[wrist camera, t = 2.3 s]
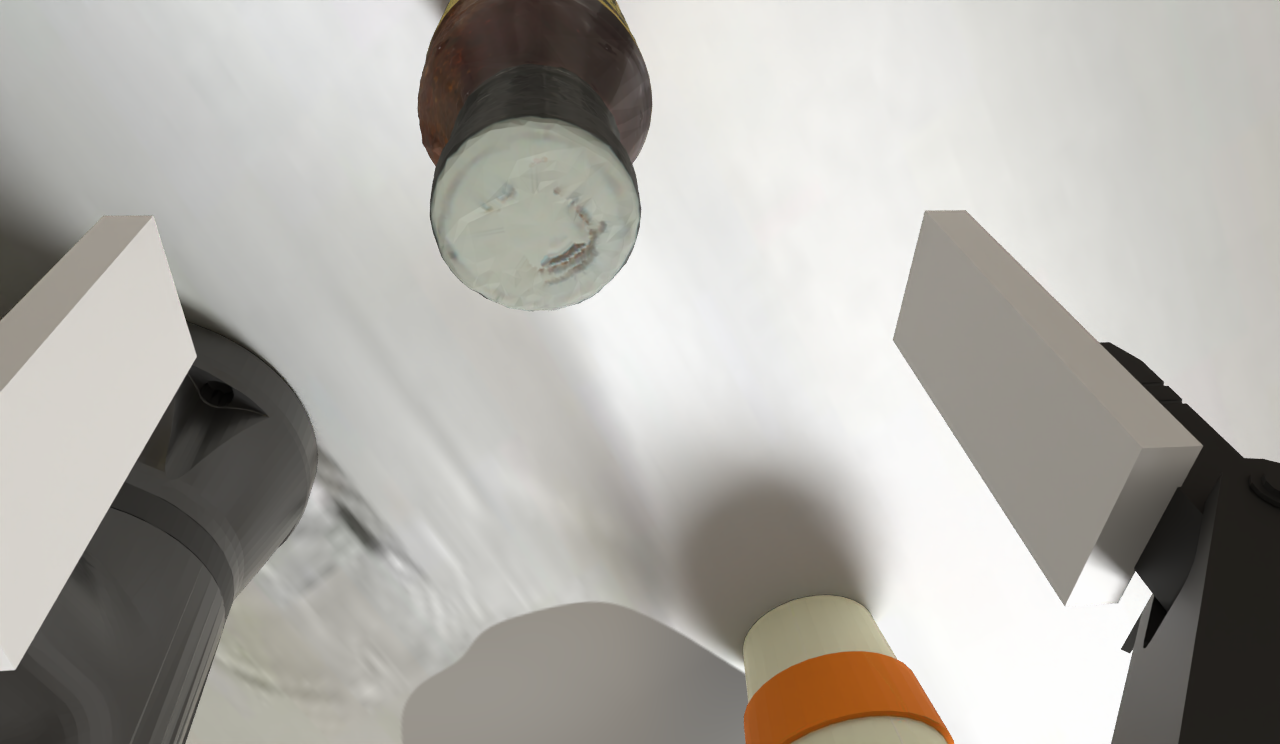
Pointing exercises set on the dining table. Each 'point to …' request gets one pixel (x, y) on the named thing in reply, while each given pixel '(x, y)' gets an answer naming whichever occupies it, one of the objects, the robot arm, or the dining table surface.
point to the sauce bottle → (534, 146)
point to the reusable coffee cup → (831, 680)
